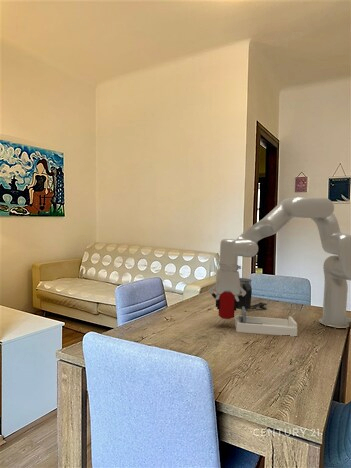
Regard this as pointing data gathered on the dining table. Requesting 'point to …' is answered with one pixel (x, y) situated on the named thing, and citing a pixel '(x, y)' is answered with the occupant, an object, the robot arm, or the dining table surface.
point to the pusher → (245, 317)
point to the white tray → (267, 326)
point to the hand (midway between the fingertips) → (226, 308)
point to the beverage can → (226, 305)
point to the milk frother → (247, 294)
